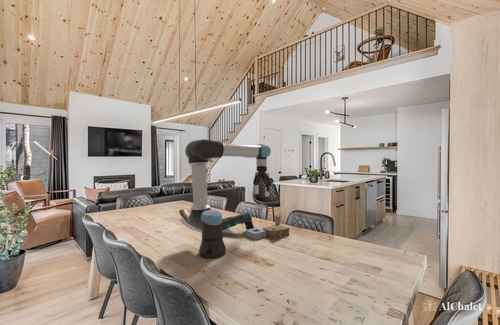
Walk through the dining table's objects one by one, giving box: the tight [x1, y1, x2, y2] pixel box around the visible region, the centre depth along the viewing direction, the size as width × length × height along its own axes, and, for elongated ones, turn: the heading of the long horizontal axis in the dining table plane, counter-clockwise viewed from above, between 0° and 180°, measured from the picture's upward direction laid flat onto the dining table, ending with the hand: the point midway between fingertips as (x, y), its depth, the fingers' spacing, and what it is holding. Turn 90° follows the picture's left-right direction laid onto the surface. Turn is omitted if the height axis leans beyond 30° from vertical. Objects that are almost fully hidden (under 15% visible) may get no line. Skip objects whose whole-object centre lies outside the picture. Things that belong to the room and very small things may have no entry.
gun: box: [222, 211, 255, 231], centre depth 177 cm, size 7×29×15 cm, turn 89°
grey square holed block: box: [245, 227, 267, 241], centre depth 166 cm, size 10×10×4 cm
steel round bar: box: [274, 214, 281, 226], centre depth 169 cm, size 3×3×13 cm
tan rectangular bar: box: [273, 224, 283, 231], centre depth 162 cm, size 7×2×2 cm, turn 128°
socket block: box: [261, 224, 290, 240], centre depth 168 cm, size 14×12×5 cm
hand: (261, 195), depth 175 cm, fingers open, 13 cm apart
